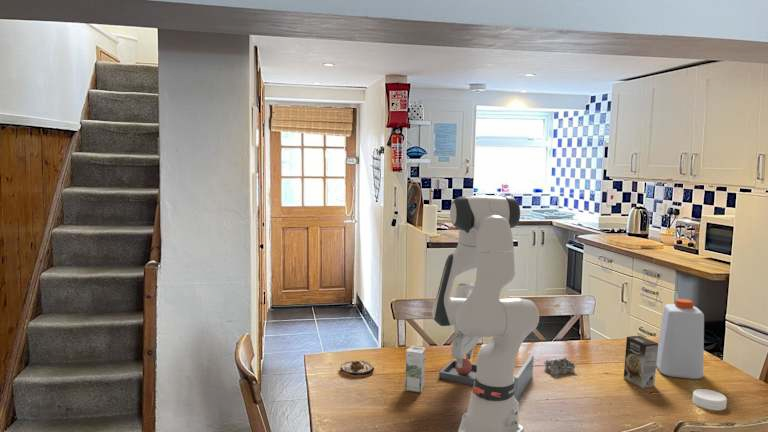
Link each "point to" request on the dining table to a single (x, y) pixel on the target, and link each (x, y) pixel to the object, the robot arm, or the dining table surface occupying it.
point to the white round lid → (709, 399)
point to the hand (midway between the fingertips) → (464, 362)
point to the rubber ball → (464, 367)
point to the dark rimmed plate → (357, 369)
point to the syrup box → (415, 369)
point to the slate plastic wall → (523, 377)
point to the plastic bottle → (681, 341)
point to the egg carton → (559, 366)
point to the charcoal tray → (453, 375)
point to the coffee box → (640, 361)
